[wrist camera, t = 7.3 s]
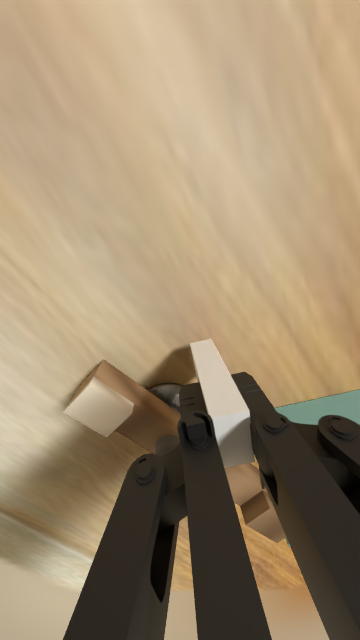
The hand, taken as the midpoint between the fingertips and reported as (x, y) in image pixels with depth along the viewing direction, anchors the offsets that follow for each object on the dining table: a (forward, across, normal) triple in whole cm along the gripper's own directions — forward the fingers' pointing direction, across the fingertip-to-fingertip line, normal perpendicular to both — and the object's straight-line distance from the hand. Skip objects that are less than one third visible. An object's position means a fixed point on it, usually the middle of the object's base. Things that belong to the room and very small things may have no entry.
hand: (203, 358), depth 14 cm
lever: (+1, -2, -7) cm, 8 cm away
